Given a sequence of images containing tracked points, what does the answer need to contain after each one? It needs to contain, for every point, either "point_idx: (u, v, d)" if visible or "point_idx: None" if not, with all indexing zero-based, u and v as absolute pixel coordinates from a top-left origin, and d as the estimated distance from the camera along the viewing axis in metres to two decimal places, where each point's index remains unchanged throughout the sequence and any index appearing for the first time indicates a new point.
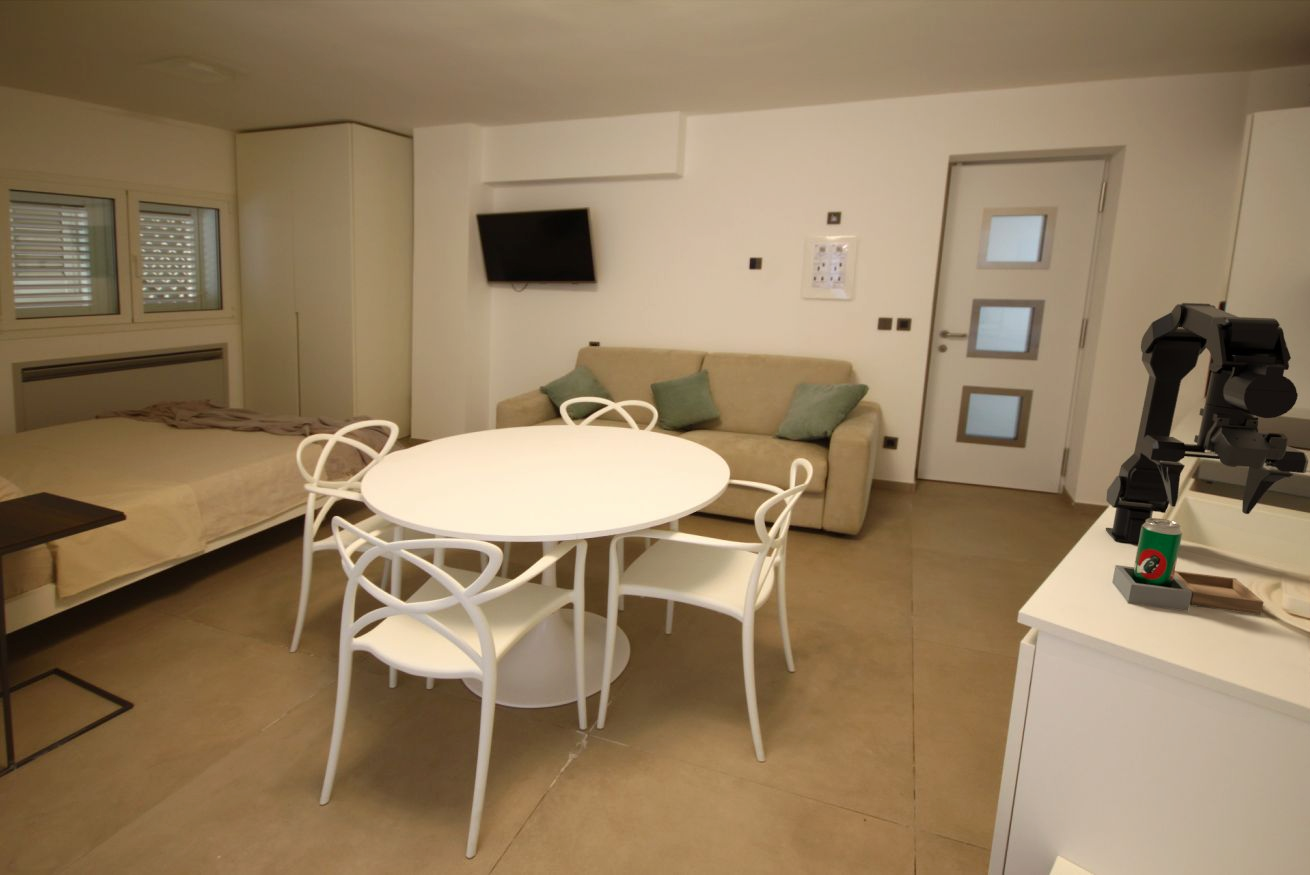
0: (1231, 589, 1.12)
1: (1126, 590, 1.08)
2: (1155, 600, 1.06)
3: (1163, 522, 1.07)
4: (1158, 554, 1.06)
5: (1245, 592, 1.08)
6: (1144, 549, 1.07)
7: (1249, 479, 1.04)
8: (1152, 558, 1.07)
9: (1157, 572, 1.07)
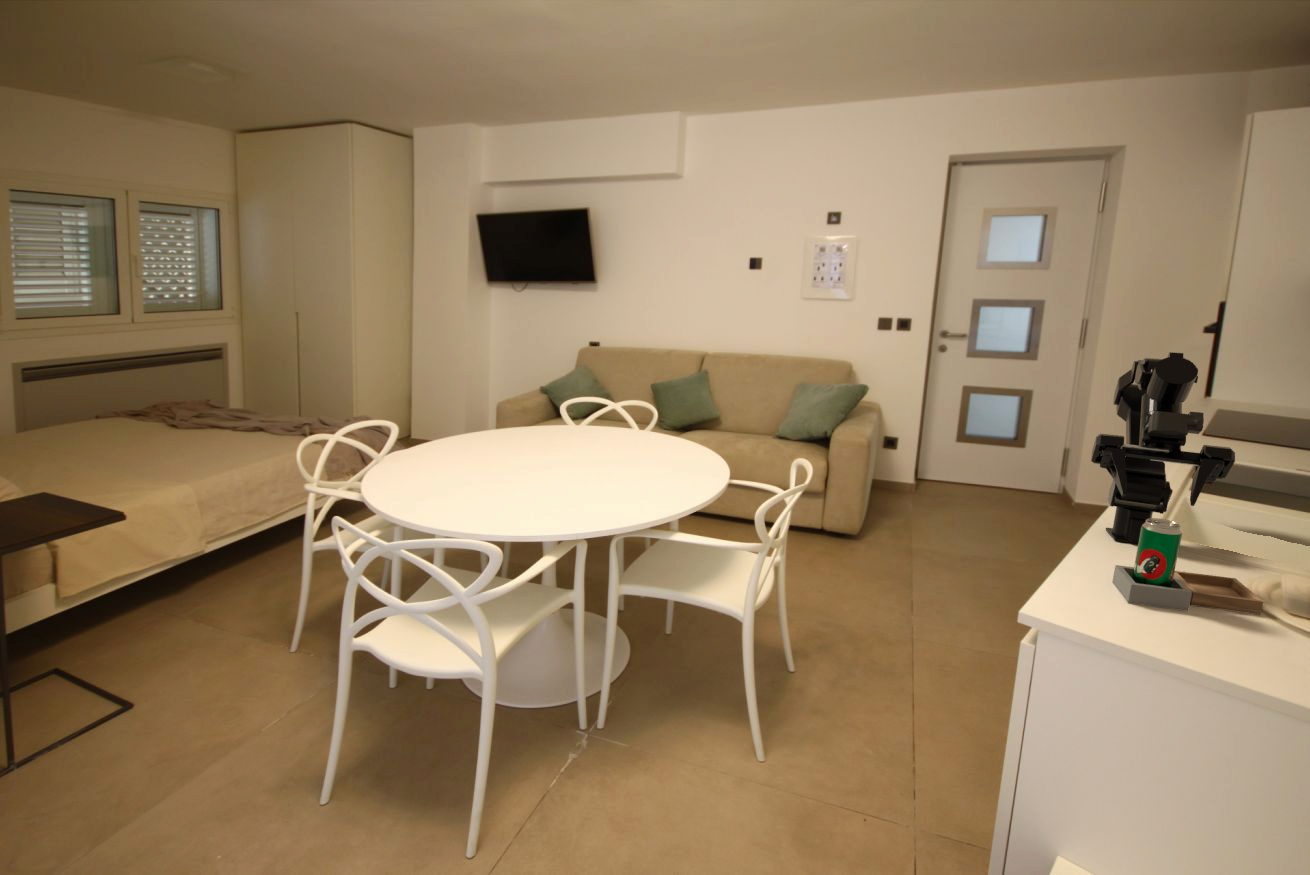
0: (1231, 589, 1.12)
1: (1126, 590, 1.08)
2: (1155, 600, 1.06)
3: (1163, 522, 1.07)
4: (1158, 554, 1.06)
5: (1245, 592, 1.08)
6: (1144, 549, 1.07)
7: (1192, 483, 1.15)
8: (1152, 558, 1.07)
9: (1157, 572, 1.07)
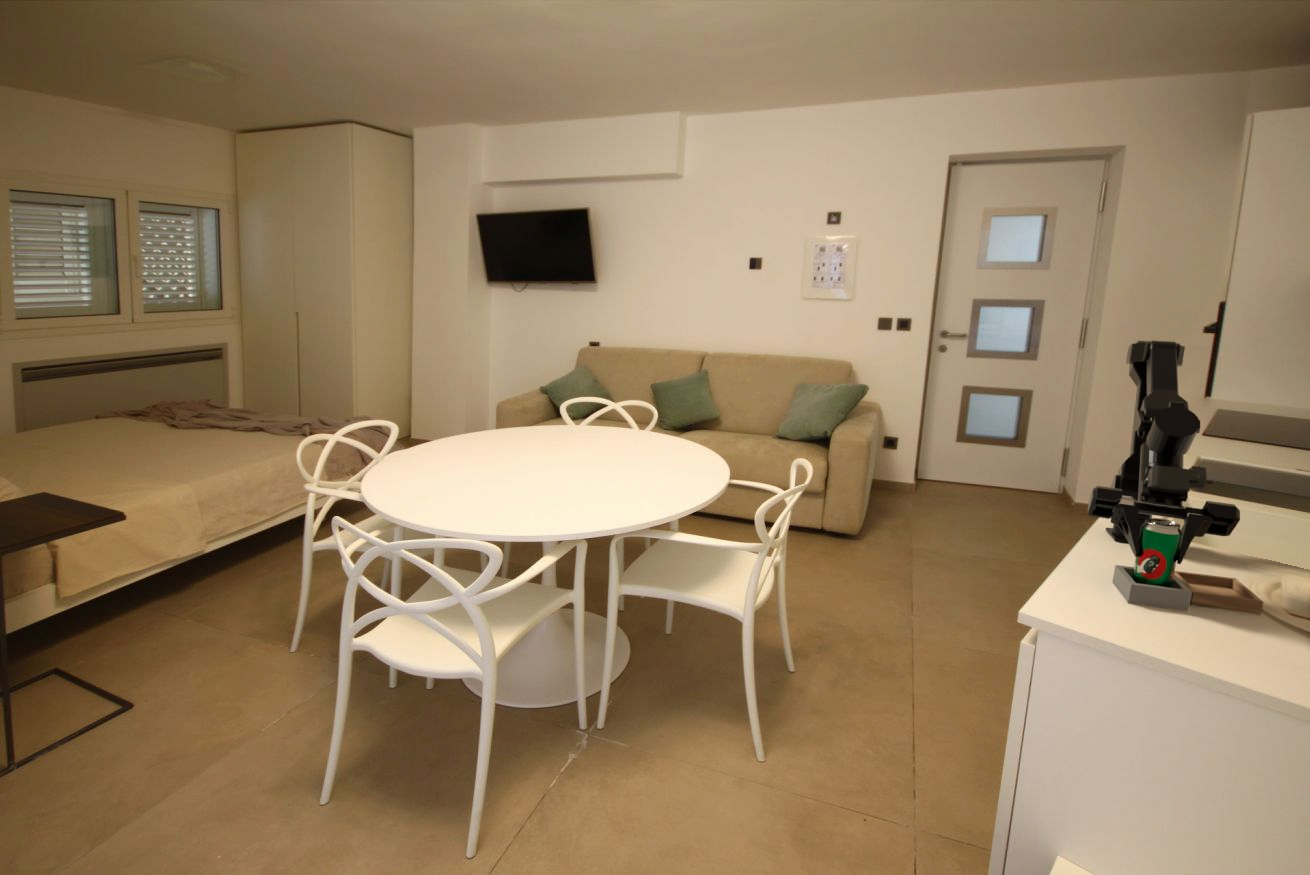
0: (1231, 589, 1.12)
1: (1126, 590, 1.08)
2: (1155, 600, 1.06)
3: (1163, 522, 1.07)
4: (1158, 554, 1.06)
5: (1245, 592, 1.08)
6: (1144, 549, 1.07)
7: None
8: (1152, 558, 1.07)
9: (1157, 572, 1.07)
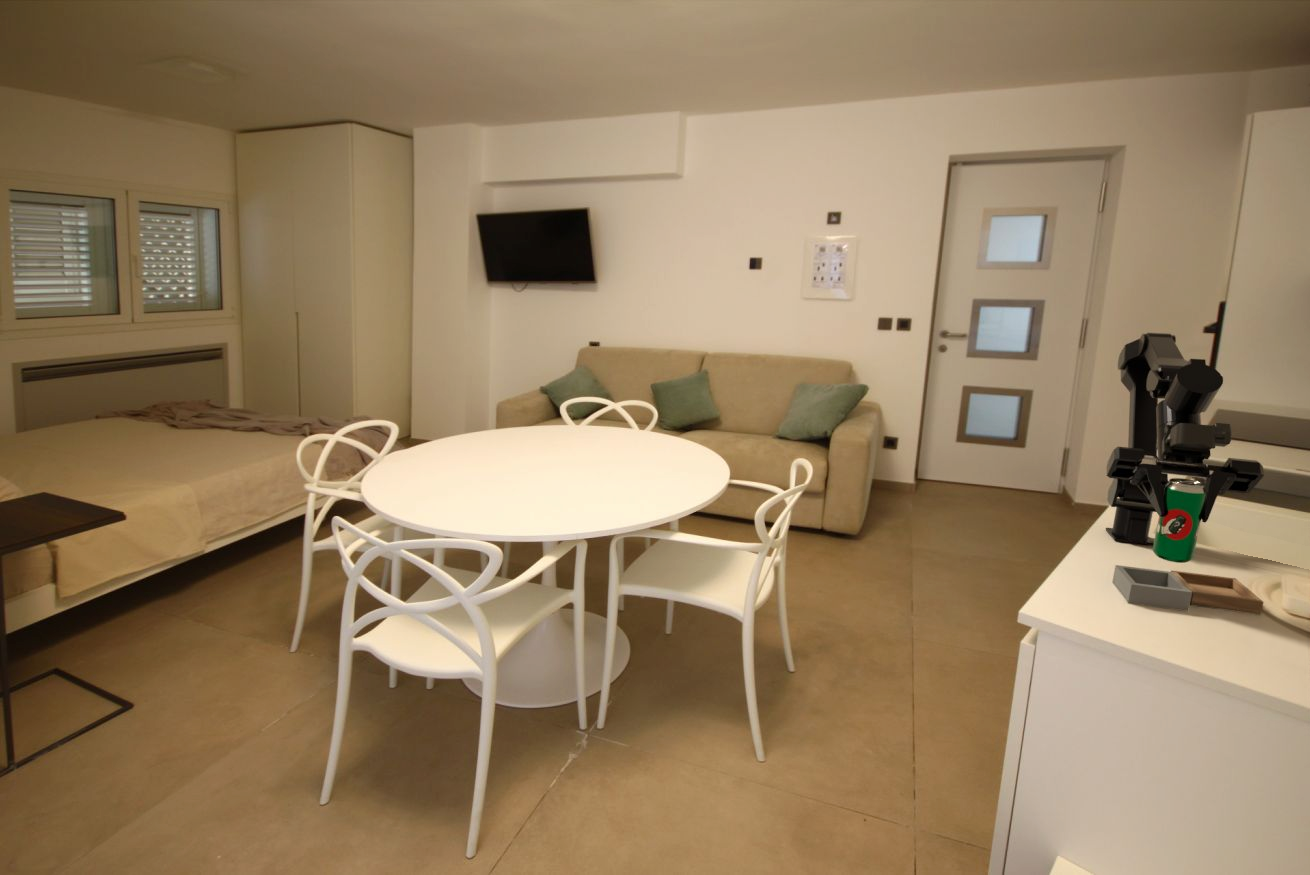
0: (1231, 589, 1.12)
1: (1126, 590, 1.08)
2: (1155, 600, 1.06)
3: (1187, 481, 1.06)
4: (1184, 514, 1.04)
5: (1245, 592, 1.08)
6: (1169, 509, 1.06)
7: None
8: (1178, 518, 1.05)
9: (1183, 533, 1.05)
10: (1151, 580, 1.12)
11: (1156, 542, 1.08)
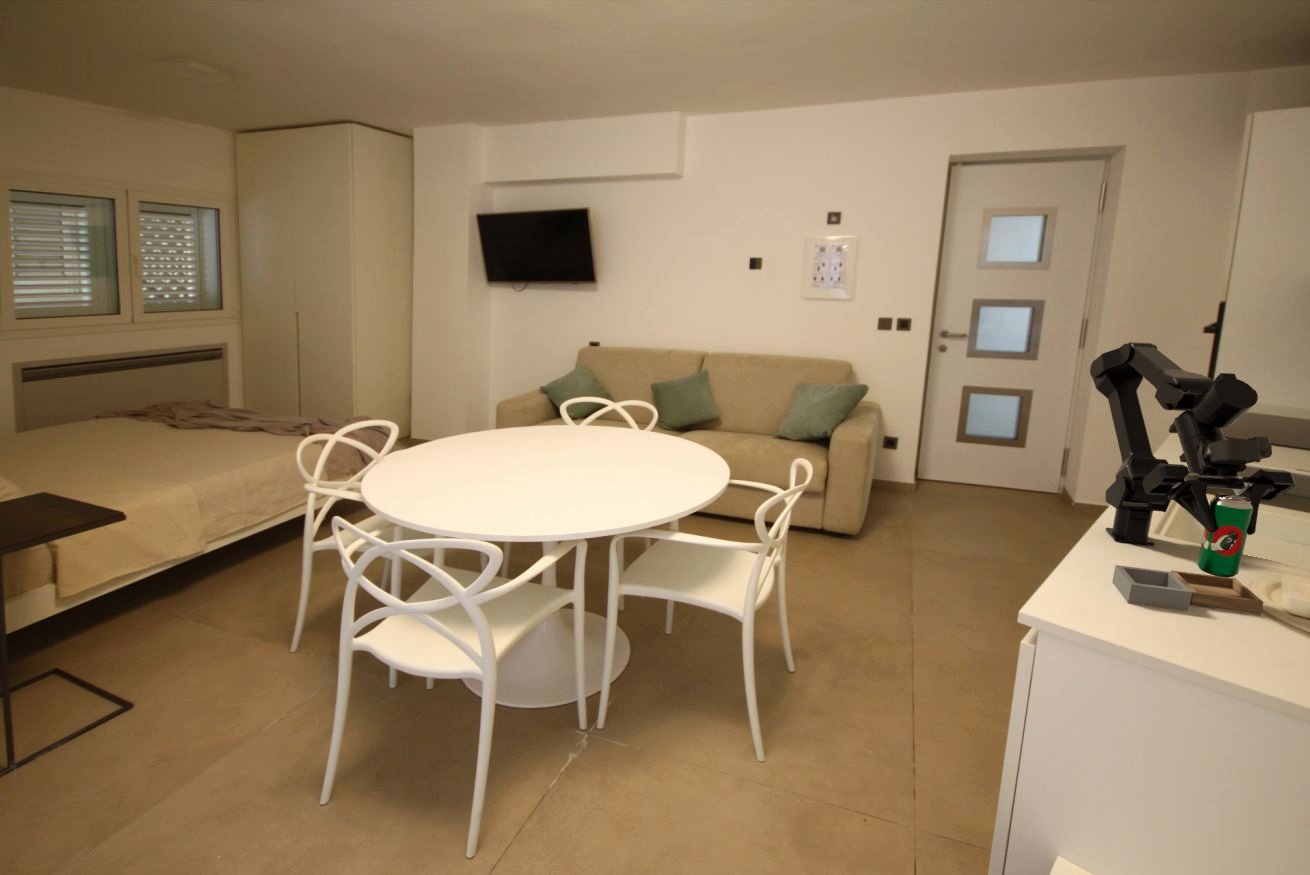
0: (1231, 589, 1.12)
1: (1126, 590, 1.08)
2: (1155, 600, 1.06)
3: (1232, 497, 1.07)
4: (1236, 530, 1.05)
5: (1245, 592, 1.08)
6: (1220, 526, 1.06)
7: None
8: (1230, 534, 1.05)
9: (1235, 548, 1.06)
10: (1151, 580, 1.12)
11: (1204, 558, 1.08)
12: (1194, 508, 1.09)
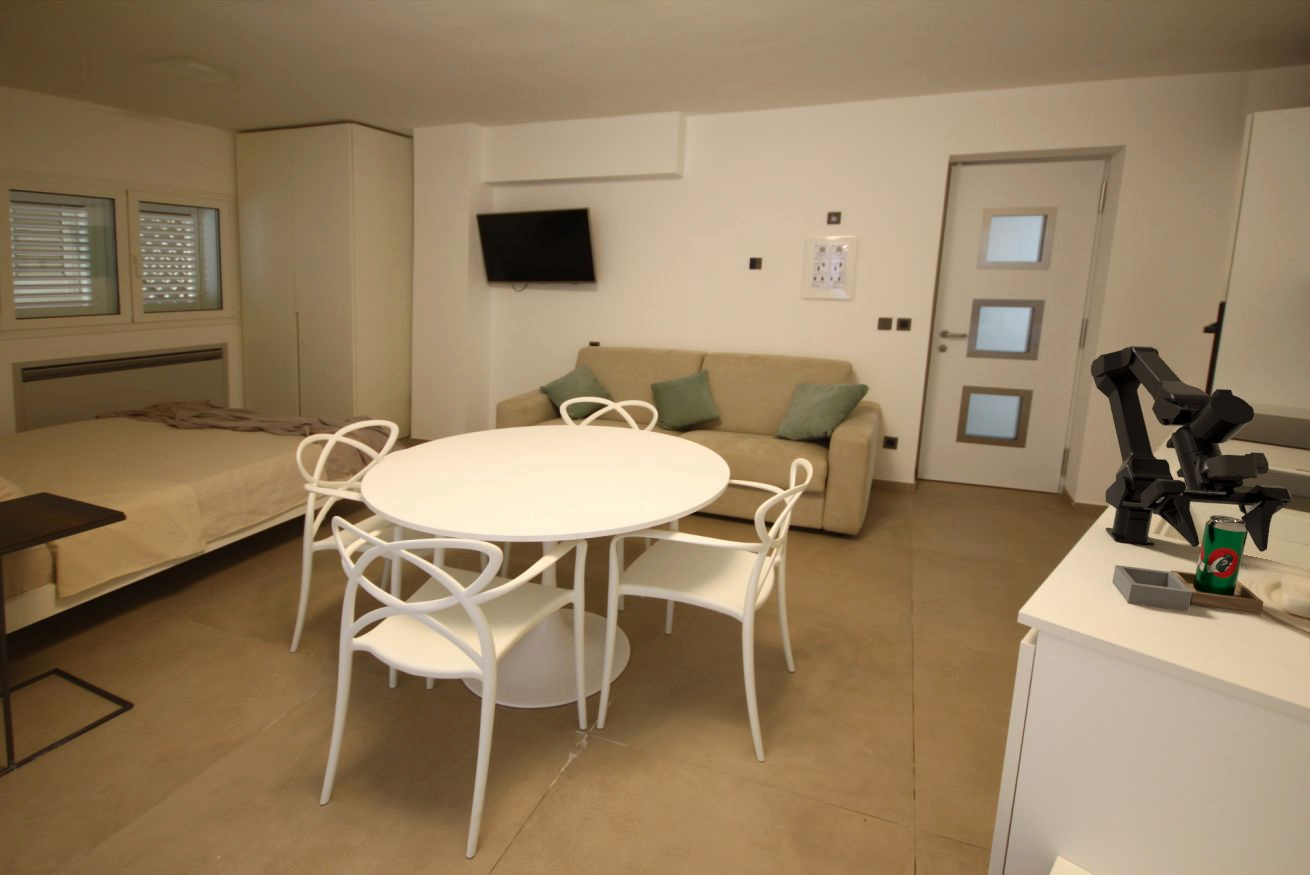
0: None
1: (1126, 590, 1.08)
2: (1155, 600, 1.06)
3: (1227, 519, 1.08)
4: (1232, 553, 1.06)
5: (1245, 592, 1.08)
6: (1216, 548, 1.07)
7: (1249, 525, 1.10)
8: (1226, 557, 1.06)
9: (1230, 570, 1.06)
10: (1151, 580, 1.12)
11: (1200, 580, 1.09)
12: (1178, 522, 1.10)
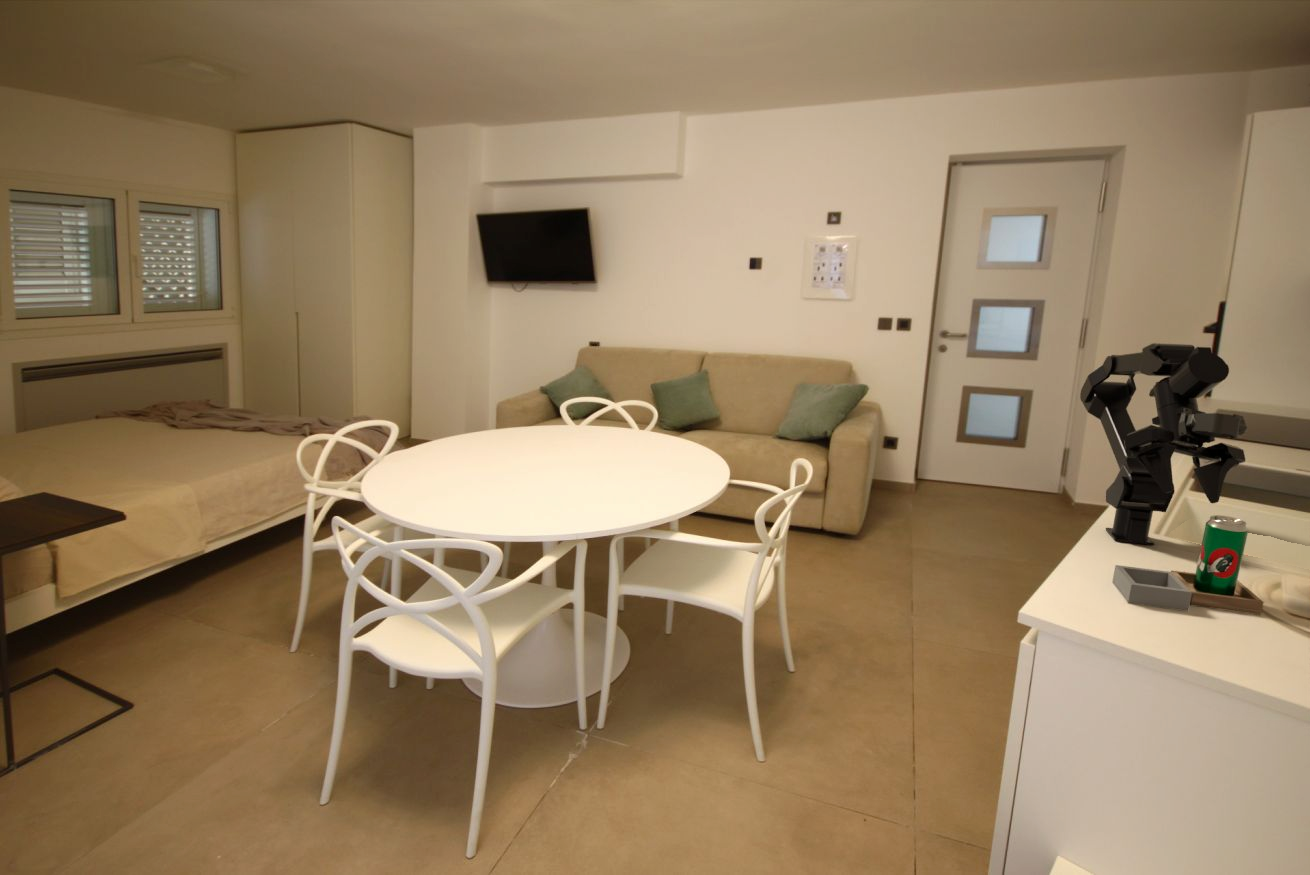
0: None
1: (1126, 590, 1.08)
2: (1155, 600, 1.06)
3: (1227, 519, 1.08)
4: (1232, 553, 1.06)
5: (1245, 592, 1.08)
6: (1216, 548, 1.07)
7: (1202, 478, 1.20)
8: (1226, 557, 1.06)
9: (1230, 570, 1.06)
10: (1151, 580, 1.12)
11: (1200, 580, 1.09)
12: (1155, 468, 1.16)
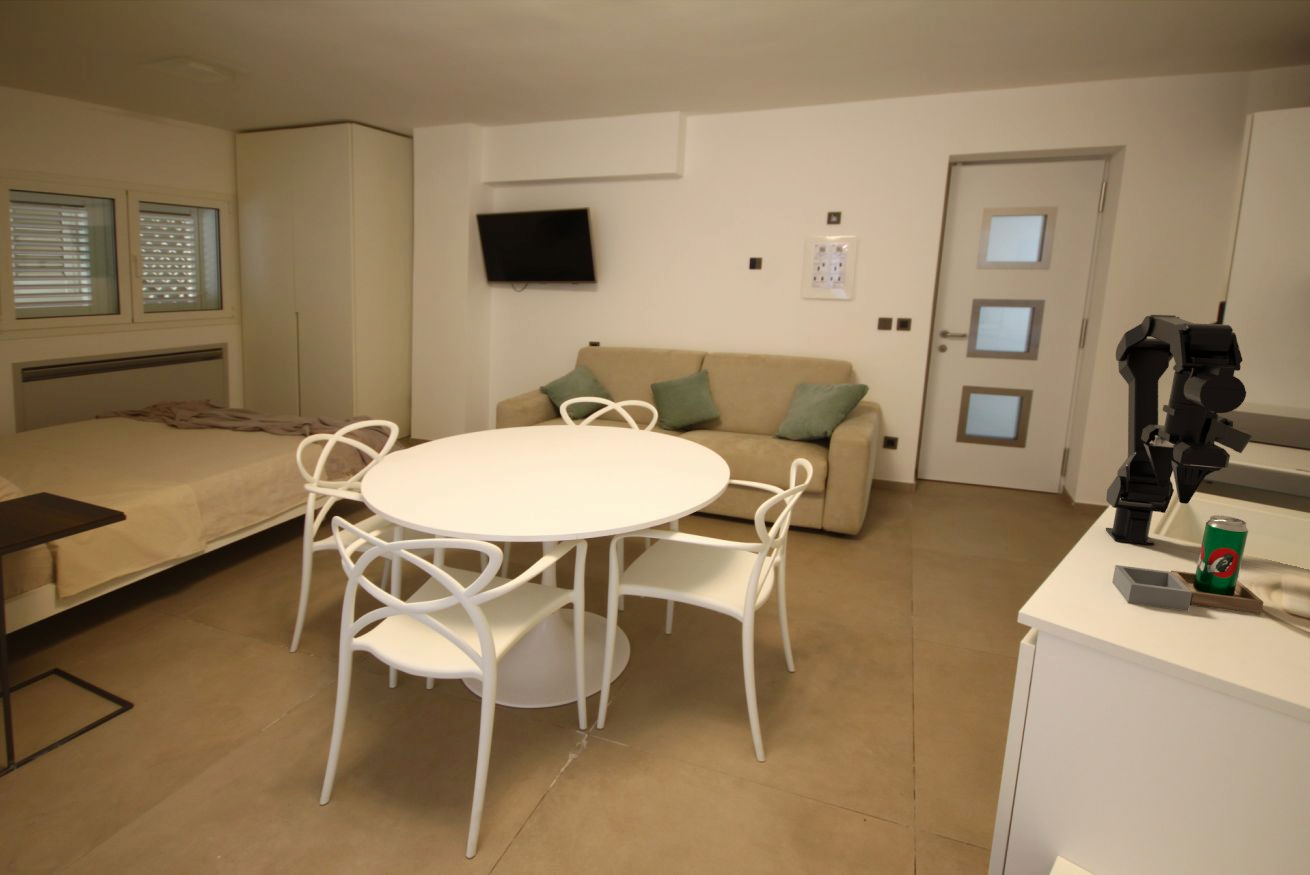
0: None
1: (1126, 590, 1.08)
2: (1155, 600, 1.06)
3: (1227, 519, 1.08)
4: (1232, 552, 1.06)
5: (1245, 592, 1.08)
6: (1216, 548, 1.07)
7: (1156, 459, 1.22)
8: (1226, 557, 1.06)
9: (1230, 570, 1.06)
10: (1151, 580, 1.12)
11: (1200, 580, 1.09)
12: (1187, 480, 1.12)
